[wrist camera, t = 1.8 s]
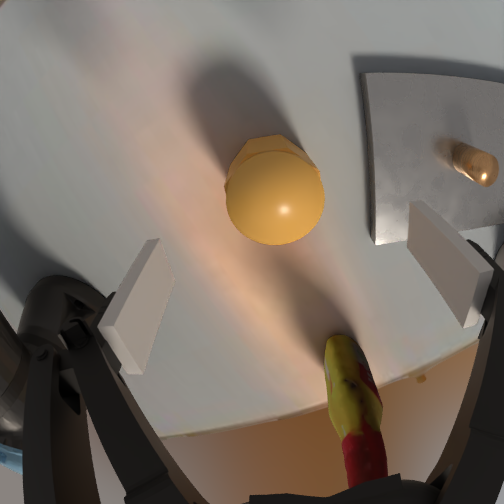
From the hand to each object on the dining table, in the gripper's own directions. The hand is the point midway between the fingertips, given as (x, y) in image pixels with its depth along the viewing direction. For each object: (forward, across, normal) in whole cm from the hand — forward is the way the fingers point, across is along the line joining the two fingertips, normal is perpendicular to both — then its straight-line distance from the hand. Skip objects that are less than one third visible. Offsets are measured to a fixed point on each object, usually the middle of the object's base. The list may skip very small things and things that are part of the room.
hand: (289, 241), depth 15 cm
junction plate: (+13, +18, 0) cm, 23 cm away
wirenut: (+13, 0, 0) cm, 13 cm away
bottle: (+13, +6, -25) cm, 29 cm away
